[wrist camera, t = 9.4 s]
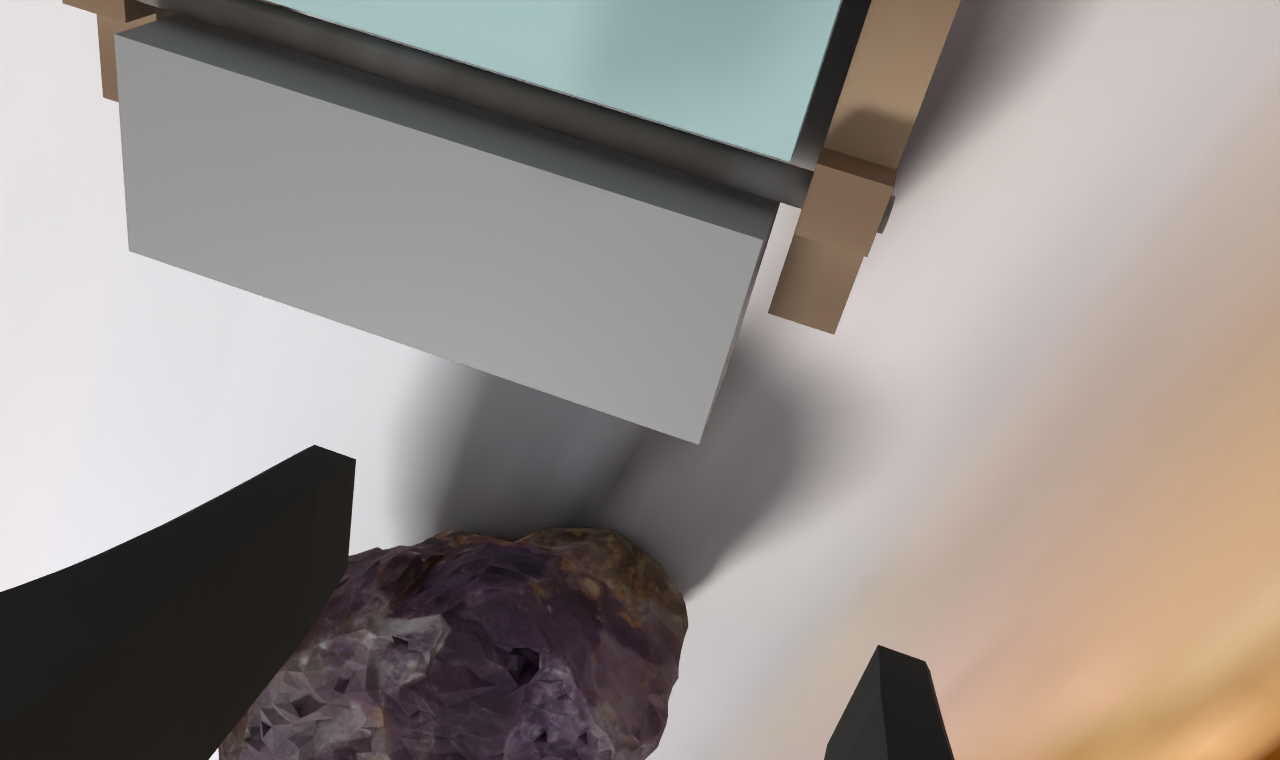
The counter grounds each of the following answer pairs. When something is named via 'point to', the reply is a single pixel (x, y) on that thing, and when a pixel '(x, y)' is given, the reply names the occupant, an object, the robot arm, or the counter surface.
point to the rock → (480, 656)
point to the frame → (829, 197)
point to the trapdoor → (481, 184)
